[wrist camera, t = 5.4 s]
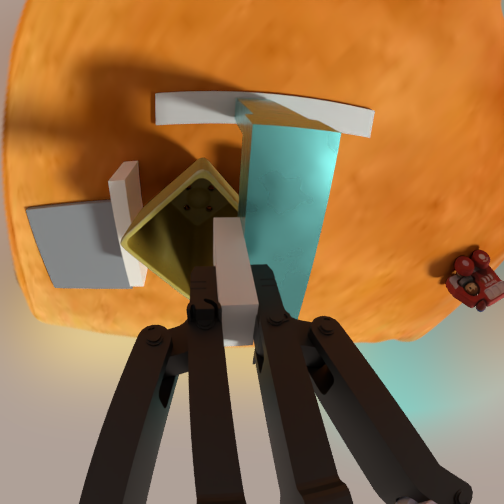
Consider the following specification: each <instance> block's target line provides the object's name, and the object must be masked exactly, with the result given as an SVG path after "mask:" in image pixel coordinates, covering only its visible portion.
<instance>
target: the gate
mask: <svg viewBox="0 0 504 504" xmlns="http://www.w3.org/2000/svg"><path fill="white" fill-rule="evenodd" d="M234 119H235V121H236V123H237V125H238V126H239V128H240V130H241V132H242V134H243V138H242V153H241V169H240V185H239V202H238V217H240V221H241V226H242V230H243V235H244V238H245V243H246V248H247V252H248V257H249V261H250V265H253V264H267V265H268V266H269V267H270V268H271V269H272V270H273V273H274V276H275V280H276V282H277V286H278V289H279V292H280V296H281V299H282V302H283V306H284V308H285V310H286V311H287V312H288V313H289V314H290V315H291V317H293V318H295V319H298V316H299V312H300V309H301V305H302V302H303V298H304V295H305V291H306V288H307V284H308V280H309V276H310V273H311V269H312V265H313V261H314V257H315V253H316V249H317V245H318V241H319V237H320V233H321V229H322V224H323V220H324V216H325V211H326V207H327V202H328V198H329V193H330V188H331V183H332V179H333V174H334V169H335V163H336V158H337V153H338V148H339V142H340V136H341V133H340V132H339V131H337V130H335V129H333V128H331V127H329V126H328V125H326V124H324V123H322V122H320V121H318V120H311V119H308V118H306V117H304V116H302V115H300V114H298V113H297V112H295V111H293V110H291V109H289V108H287V107H285V106H283V105H281V104H278V103H276V102H274V101H272V100H270V99H258V98H238V97H236V101H235V117H234Z"/></svg>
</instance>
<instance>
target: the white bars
mask: <svg viewBox="0 0 504 504" xmlns="http://www.w3.org/2000/svg"><path fill="white" fill-rule="evenodd" d="M236 97H238V98H258V99H270V100H272V101H274V102H276V103H278V104H281V105H283V106H285V107H287V108H289V109H291V110H293V111H295V112H297V113H298V114H300V115H302V116H304V117H306V118H308V119H311V120H318V121H320V122H322V123H324V124H326V125H328V126H329V127H331V128H333V129H335V130H337V131H339V132H340V133H345V134H352V135H358V136H363V137H369V138H370V134H371V129H372V124H373V118H374V113H375V111H373V110H370V109H365V108H361V107H356V106H352V105H347V104H342V103H336V102H331V101H325V100H319V99H312V98H305V97H297V96H289V95H280V94H269V93H255V92H236V91H184V92H164V93H155V109H156V125H166V124H191V123H235V124H237V123H236V121H235V119H234V117H235V101H236ZM108 184H109V191H110V197H111V203H112V209H113V214H114V219H115V225H116V229H117V234H118V239H119V244H120V241H121V239H122V237H123V236H124V234H125V232H126V231H127V229H128V228H129V226H130V225H131V223H132V222H133V220H134V219H135V217H136V216H137V214H138V213H139V211H140V210H141V209H142V208H143V204H142V196H141V186H140V177H139V165H138V161H127V162H123V163H122V164H121V166H120V167H119V168H118V169H117V171H116V172H115V173H114V174H113V176H112V177H111V178H110V179H109V181H108ZM120 248H121V252H122V257H123V261H124V265H125V269H126V273H127V276H128V280H129V284H130V286H144V283H145V278H146V273H147V269H148V268H147V267H146V266H145V265H143V264H142V263H141V262H140V261H138V260H137V259H136V258H134V257H133V256H132V255H131V254H129V253H128V252H127V251H126V250H125V249H124V248H123V247H122V246H121V245H120Z"/></svg>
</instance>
